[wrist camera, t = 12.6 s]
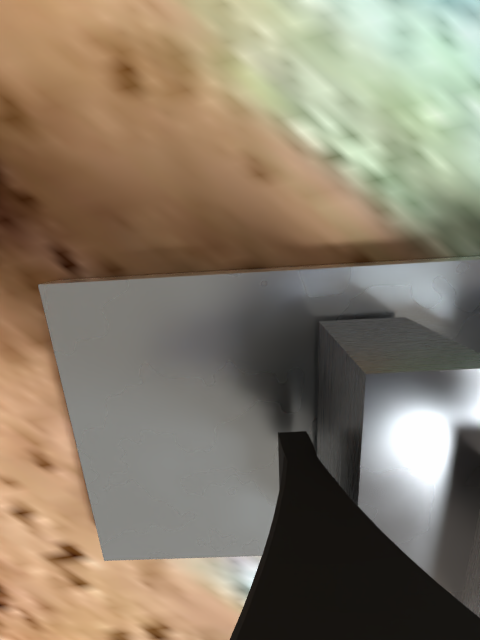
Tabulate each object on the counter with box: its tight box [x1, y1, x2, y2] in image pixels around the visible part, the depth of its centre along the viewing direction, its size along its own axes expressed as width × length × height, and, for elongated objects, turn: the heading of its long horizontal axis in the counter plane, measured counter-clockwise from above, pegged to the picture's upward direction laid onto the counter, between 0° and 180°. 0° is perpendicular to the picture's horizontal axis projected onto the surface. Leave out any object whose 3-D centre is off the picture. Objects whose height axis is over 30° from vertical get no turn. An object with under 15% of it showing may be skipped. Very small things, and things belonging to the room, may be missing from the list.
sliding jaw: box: [317, 317, 480, 602], centre depth 8 cm, size 2×8×4 cm, turn 3°
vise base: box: [38, 256, 480, 561], centre depth 9 cm, size 20×11×5 cm, turn 93°
